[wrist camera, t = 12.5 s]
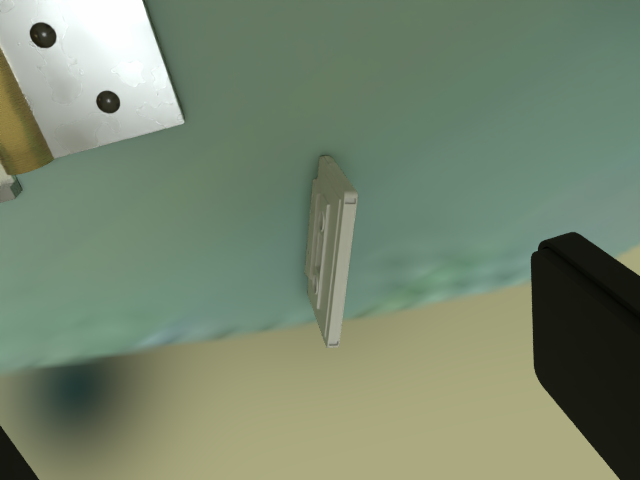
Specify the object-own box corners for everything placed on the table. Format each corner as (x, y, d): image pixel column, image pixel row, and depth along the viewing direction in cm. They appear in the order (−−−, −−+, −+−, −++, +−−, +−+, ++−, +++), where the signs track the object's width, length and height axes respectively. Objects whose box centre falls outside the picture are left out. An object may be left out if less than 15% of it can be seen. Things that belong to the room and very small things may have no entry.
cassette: (322, 293, 45) (345, 349, 39) (301, 293, 45) (320, 351, 38) (337, 154, 40) (366, 192, 33) (312, 153, 40) (337, 192, 33)
